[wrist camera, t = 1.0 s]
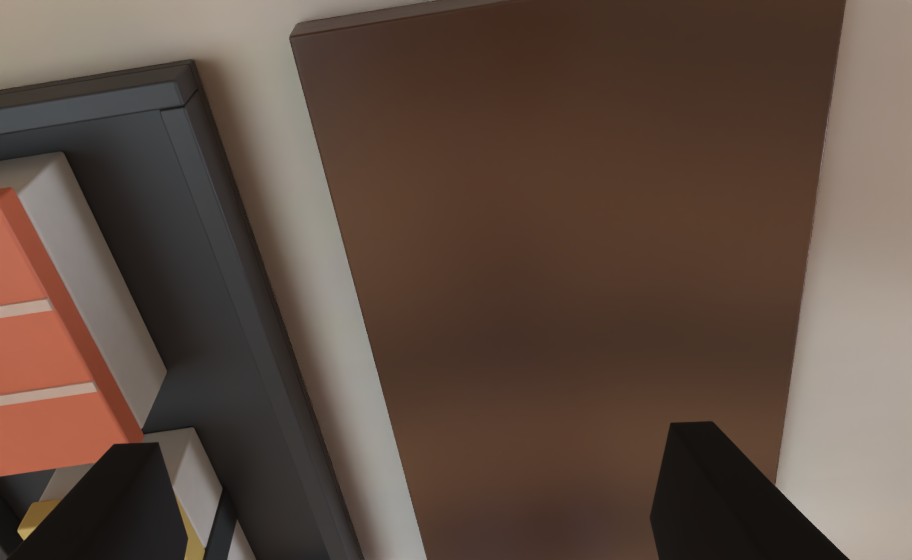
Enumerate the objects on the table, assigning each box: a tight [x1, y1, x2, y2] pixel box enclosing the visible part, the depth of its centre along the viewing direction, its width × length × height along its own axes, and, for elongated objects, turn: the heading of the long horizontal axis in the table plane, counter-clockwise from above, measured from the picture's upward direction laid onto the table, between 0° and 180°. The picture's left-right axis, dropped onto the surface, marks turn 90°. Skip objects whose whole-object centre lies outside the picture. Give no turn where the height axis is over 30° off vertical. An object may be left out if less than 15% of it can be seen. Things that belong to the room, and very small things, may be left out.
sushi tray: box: [0, 59, 364, 560], centre depth 21 cm, size 19×11×2 cm, turn 8°
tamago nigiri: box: [17, 427, 256, 560], centre depth 23 cm, size 7×4×4 cm, turn 8°
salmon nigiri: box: [0, 152, 167, 476], centre depth 18 cm, size 7×4×3 cm, turn 8°
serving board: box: [289, 0, 846, 560], centre depth 21 cm, size 20×12×1 cm, turn 8°
